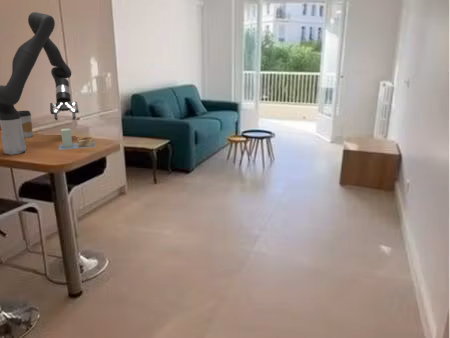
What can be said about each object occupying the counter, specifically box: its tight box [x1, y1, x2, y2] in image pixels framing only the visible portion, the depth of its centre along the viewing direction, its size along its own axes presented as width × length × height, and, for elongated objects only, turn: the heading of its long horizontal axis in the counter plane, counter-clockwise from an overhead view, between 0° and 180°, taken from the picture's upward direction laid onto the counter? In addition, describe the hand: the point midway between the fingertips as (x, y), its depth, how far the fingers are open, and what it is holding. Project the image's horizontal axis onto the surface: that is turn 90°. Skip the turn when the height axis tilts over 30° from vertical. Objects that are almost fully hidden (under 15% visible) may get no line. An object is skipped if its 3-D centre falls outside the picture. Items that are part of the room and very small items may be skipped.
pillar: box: [60, 128, 74, 148], centre depth 195 cm, size 4×4×9 cm
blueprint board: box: [58, 140, 96, 151], centre depth 198 cm, size 18×12×1 cm, turn 110°
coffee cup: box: [17, 110, 34, 139], centre depth 219 cm, size 8×8×15 cm
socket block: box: [77, 136, 94, 147], centre depth 199 cm, size 8×8×3 cm
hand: (65, 119), depth 201 cm, fingers open, 8 cm apart
